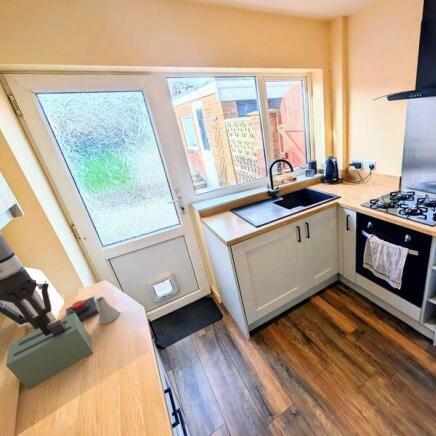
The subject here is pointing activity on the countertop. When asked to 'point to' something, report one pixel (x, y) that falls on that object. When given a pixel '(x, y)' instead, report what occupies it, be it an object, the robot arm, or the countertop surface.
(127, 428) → the countertop surface
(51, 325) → the toaster slider
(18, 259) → the robot arm
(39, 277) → the milk
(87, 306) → the block
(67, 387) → the countertop surface
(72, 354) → the toaster
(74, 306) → the power button
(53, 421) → the countertop surface
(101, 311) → the flask
